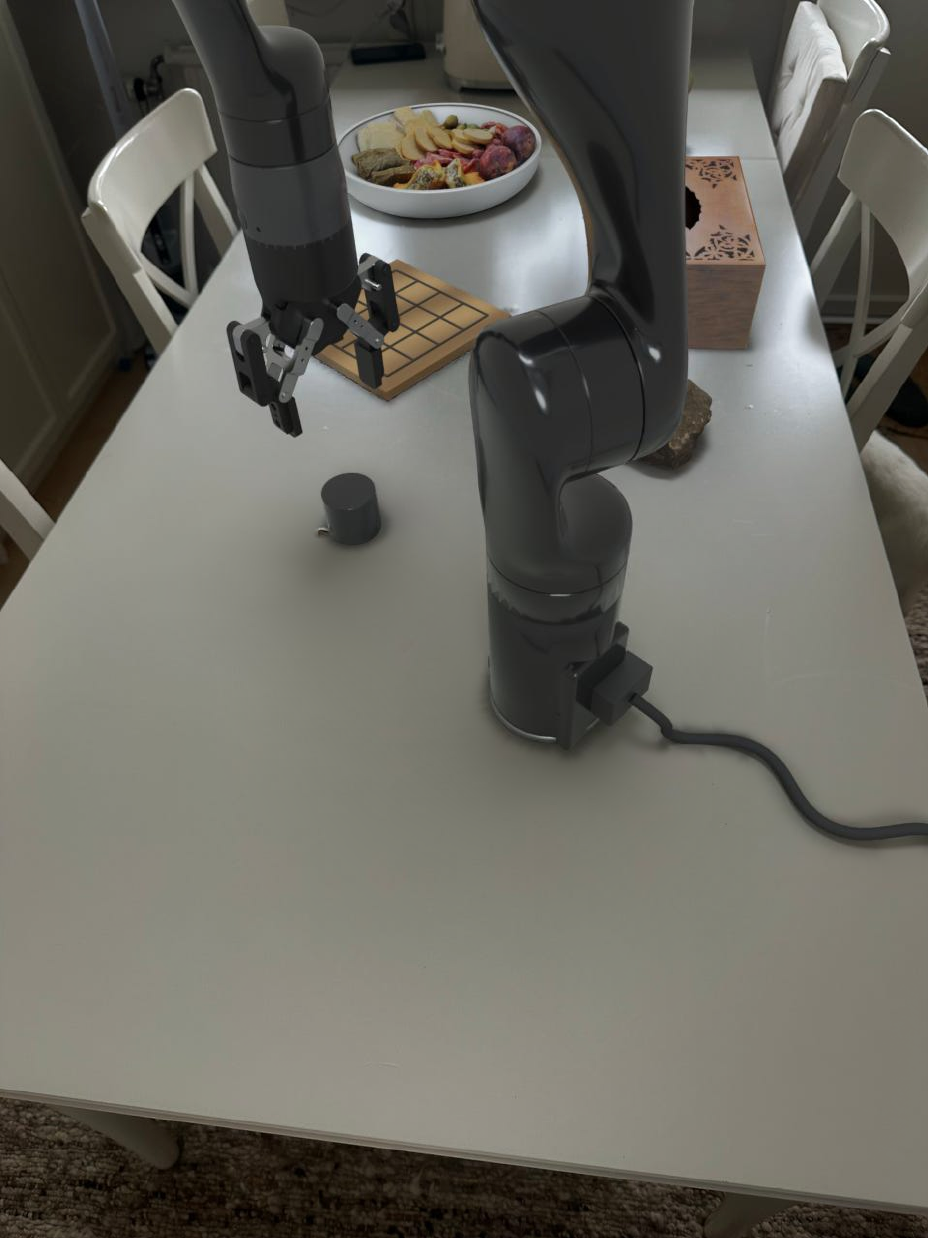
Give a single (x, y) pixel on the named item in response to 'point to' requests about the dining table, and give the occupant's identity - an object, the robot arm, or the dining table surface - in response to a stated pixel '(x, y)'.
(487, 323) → the board
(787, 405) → the dining table surface
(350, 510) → the dark grey short cylinder
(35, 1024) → the dining table surface
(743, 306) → the tissue box cover
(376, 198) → the bowl
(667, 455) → the stone
